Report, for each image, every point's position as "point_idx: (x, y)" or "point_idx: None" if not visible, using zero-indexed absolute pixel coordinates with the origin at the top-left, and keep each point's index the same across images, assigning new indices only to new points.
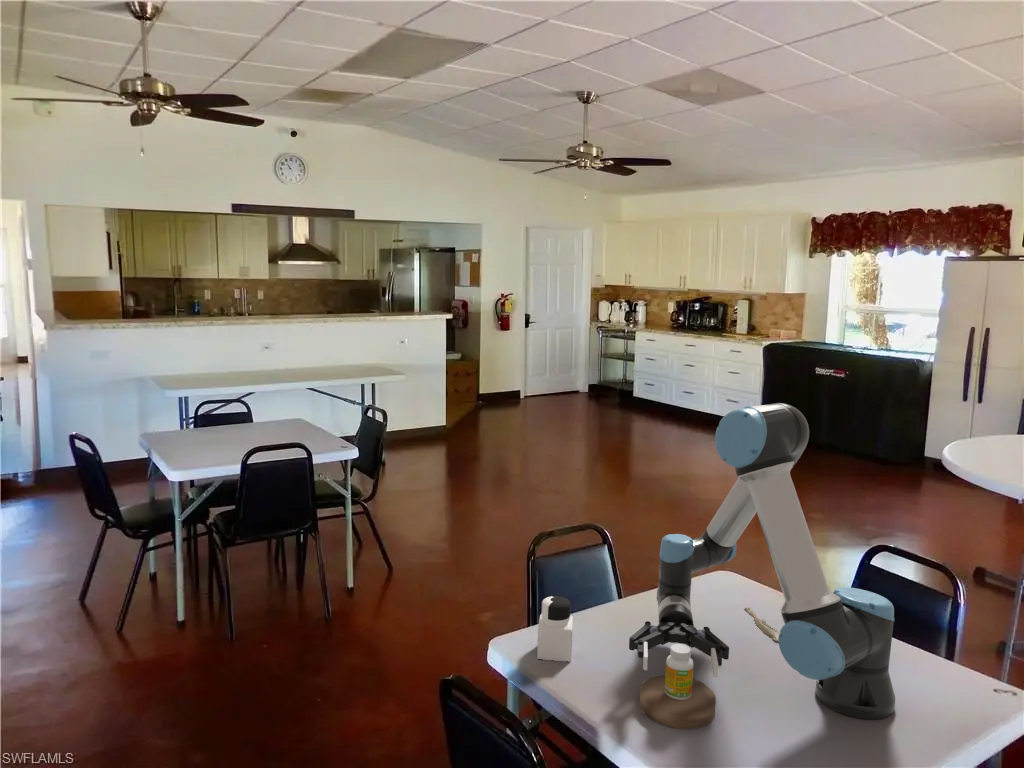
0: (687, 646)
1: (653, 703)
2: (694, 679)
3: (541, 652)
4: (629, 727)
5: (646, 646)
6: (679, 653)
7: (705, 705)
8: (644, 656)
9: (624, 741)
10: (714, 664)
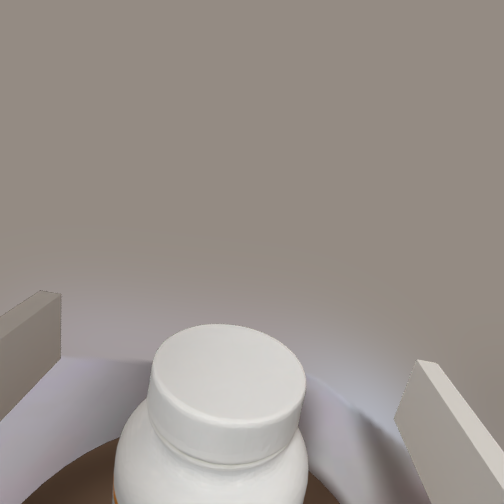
0: (164, 382)
1: (313, 492)
2: None
3: None
4: (366, 476)
5: (500, 472)
6: (247, 330)
7: (88, 481)
8: (437, 367)
9: (360, 420)
10: (60, 297)
